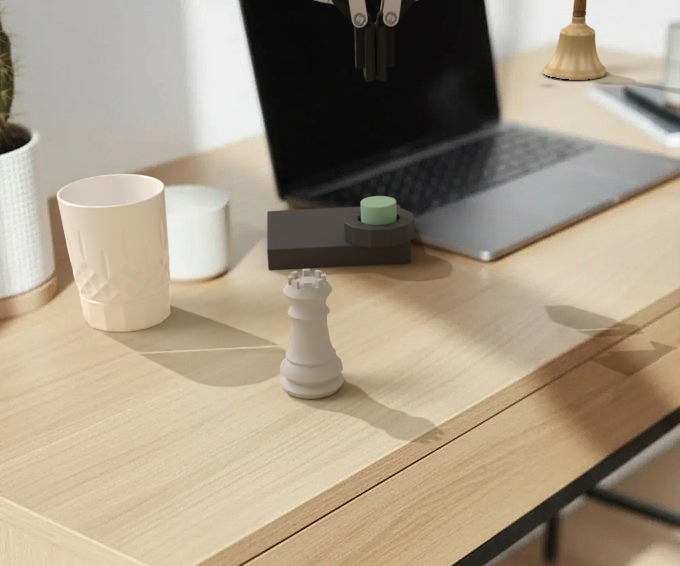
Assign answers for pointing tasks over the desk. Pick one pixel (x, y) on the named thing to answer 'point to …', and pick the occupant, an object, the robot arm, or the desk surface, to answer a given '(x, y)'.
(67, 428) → the desk surface
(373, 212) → the button
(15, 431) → the desk surface
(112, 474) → the desk surface
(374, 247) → the scale
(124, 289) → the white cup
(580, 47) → the hand bell
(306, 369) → the rook chess piece
